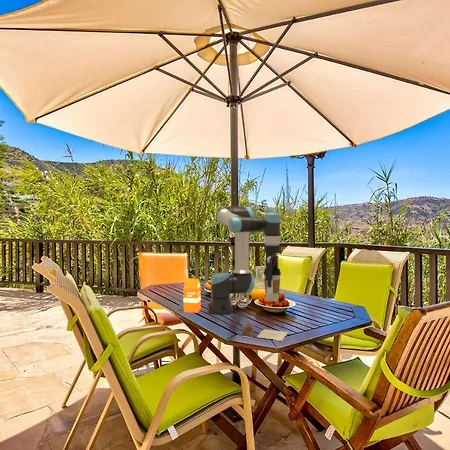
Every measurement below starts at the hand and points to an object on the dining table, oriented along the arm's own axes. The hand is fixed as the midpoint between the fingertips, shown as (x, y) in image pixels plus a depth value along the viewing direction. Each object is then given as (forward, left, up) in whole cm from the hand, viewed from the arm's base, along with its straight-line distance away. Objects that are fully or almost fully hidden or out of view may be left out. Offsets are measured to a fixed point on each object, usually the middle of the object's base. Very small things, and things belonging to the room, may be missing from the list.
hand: (272, 292), depth 159 cm
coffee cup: (0, 0, -4) cm, 4 cm away
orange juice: (-58, +25, -21) cm, 67 cm away
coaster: (0, 0, -21) cm, 21 cm away
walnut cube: (-11, -4, -21) cm, 24 cm away
